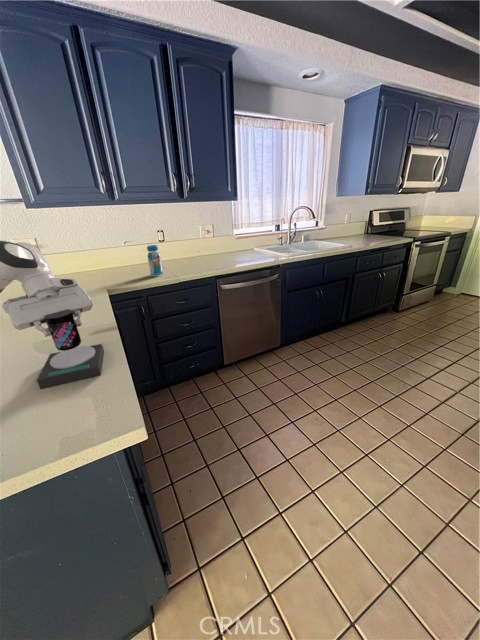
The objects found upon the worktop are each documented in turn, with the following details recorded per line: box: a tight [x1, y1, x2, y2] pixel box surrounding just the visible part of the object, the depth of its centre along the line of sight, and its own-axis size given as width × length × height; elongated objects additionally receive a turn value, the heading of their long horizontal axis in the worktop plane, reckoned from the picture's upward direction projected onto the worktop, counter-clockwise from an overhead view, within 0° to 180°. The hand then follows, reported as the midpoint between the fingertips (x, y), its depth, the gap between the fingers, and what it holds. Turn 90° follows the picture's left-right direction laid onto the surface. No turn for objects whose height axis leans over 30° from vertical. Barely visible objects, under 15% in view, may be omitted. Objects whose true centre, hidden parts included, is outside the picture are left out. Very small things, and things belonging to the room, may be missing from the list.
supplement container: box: [44, 309, 82, 352], centre depth 77 cm, size 7×7×10 cm
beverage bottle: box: [146, 244, 164, 277], centre depth 180 cm, size 8×8×20 cm
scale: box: [36, 343, 105, 390], centre depth 80 cm, size 15×15×4 cm
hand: (64, 330), depth 76 cm, fingers closed on supplement container, 6 cm apart
